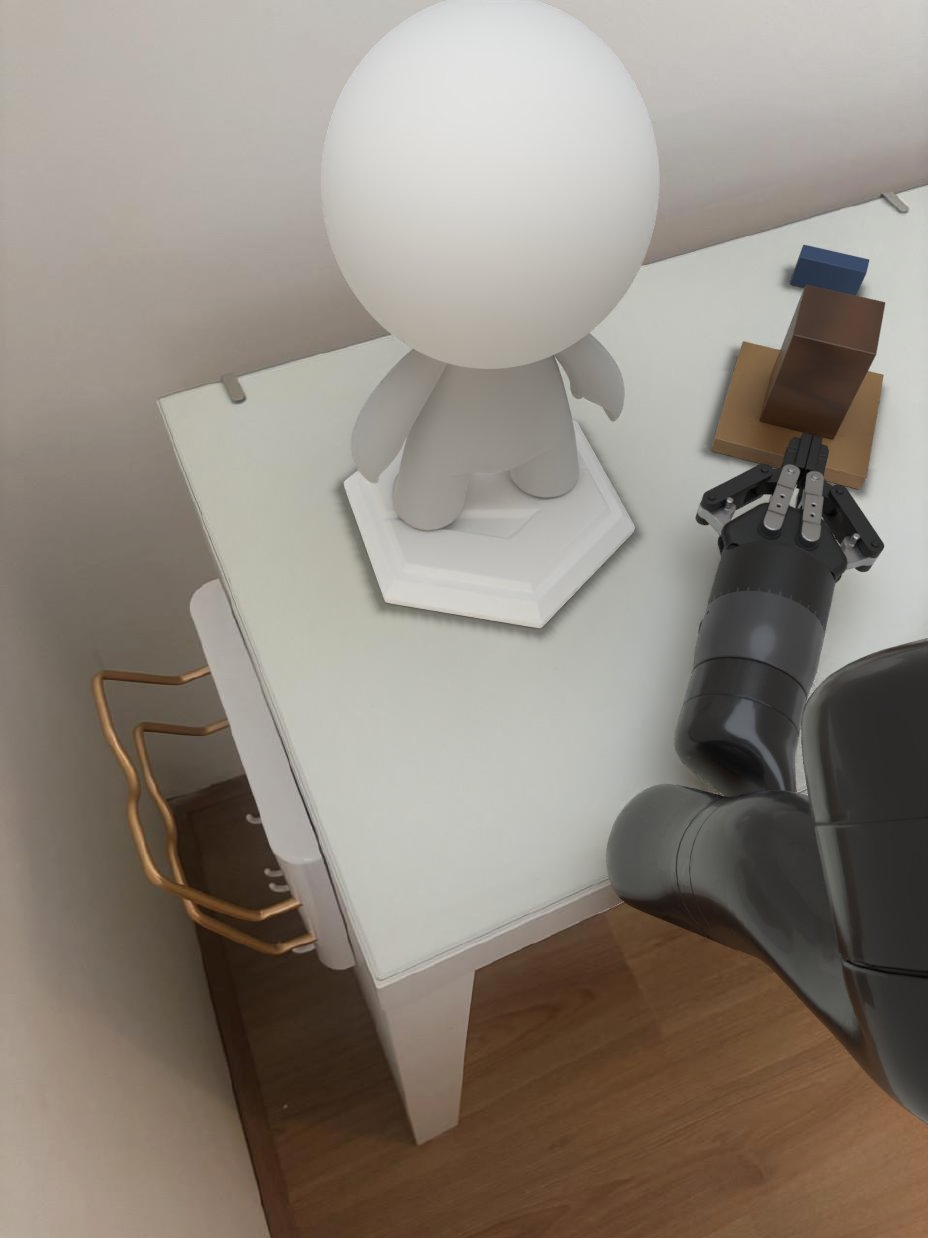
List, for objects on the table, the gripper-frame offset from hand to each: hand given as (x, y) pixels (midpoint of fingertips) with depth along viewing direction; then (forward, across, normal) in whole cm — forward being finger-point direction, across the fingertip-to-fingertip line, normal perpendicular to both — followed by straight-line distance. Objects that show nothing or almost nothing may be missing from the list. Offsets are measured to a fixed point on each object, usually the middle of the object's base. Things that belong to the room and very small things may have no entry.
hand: (808, 442), depth 68 cm
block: (+8, +1, +6) cm, 10 cm away
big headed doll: (-10, +21, +6) cm, 24 cm away
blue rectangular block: (+26, +1, +6) cm, 27 cm away
